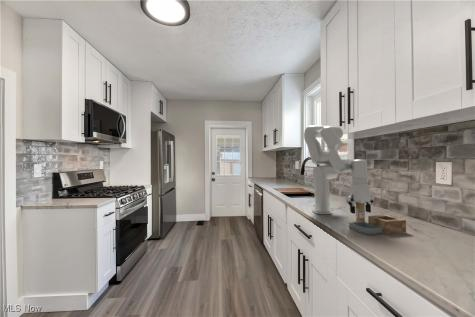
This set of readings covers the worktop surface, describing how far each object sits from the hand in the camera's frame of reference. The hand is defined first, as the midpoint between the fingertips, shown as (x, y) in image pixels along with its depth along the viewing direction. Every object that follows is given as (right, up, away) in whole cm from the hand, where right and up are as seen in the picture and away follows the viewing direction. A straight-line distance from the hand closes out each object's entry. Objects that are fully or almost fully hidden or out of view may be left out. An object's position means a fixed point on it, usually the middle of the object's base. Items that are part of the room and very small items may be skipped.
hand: (360, 212), depth 122 cm
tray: (-4, -6, -12) cm, 14 cm away
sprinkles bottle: (0, -6, 0) cm, 6 cm away
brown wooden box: (+6, -6, -12) cm, 15 cm away
